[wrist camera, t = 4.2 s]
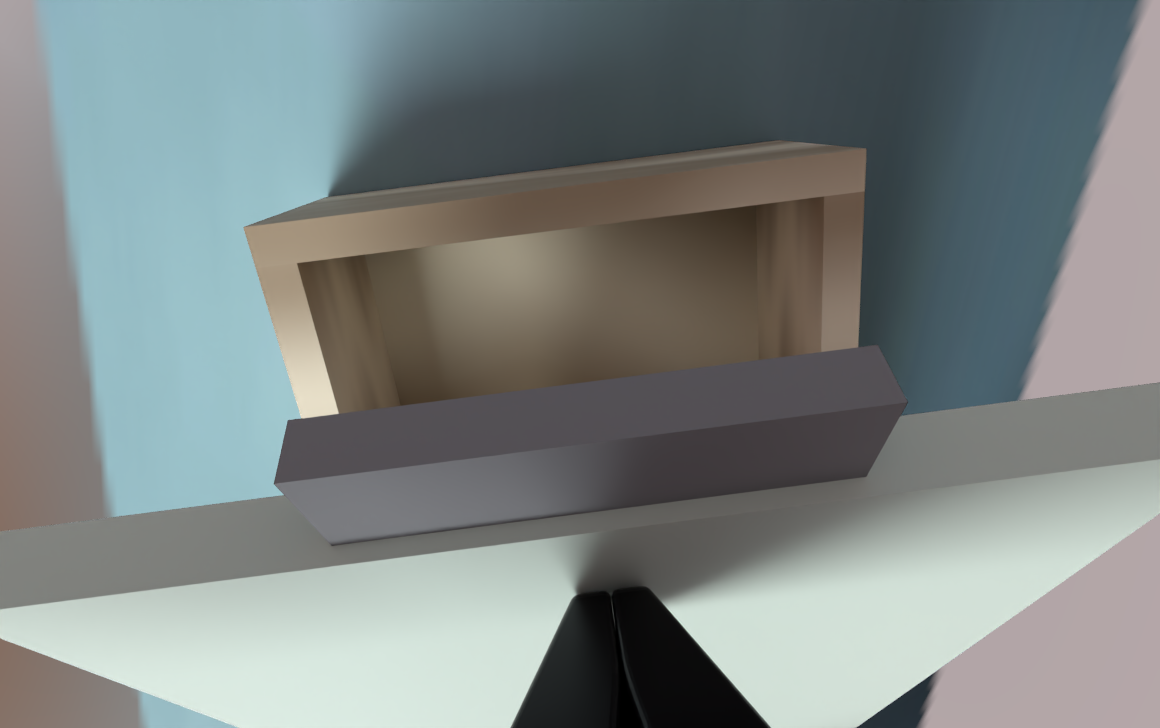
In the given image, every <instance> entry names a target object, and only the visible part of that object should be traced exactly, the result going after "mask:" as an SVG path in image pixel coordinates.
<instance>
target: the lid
mask: <svg viewBox="0 0 1160 728" xmlns="http://www.w3.org/2000/svg"><path fill="white" fill-rule="evenodd" d="M907 403H908V402H907V400H906V398H905V396H904V394H903V392H902V390H901V388H900V386H899V384H898V382H897V381H896V379H895V377H894V375H893V373H892V371H891V369H890V367H889V365H888V363H887V361H886V359H885V358H884V356H883V354H882V352H881V350H880V348H879V346H878V345H872V346H864V347H857V348H849V349H841V350H833V351H825V352H818V353H810V354H802V355H794V356H786V357H779V358H771V359H763V360H755V361H747V362H739V363H732V364H724V365H716V366H708V367H700V368H693V369H685V370H677V371H669V372H661V373H654V374H646V375H638V376H630V377H622V378H615V379H607V380H599V381H591V382H583V383H575V384H568V385H560V386H552V387H544V388H536V389H529V390H521V391H513V392H505V393H497V394H490V395H482V396H474V397H466V398H458V399H450V400H443V401H435V402H427V403H419V404H411V405H404V406H396V407H388V408H380V409H372V410H365V411H357V412H349V413H341V414H333V415H325V416H318V417H310V418H302V419H294V420H288V422H287V427H286V431H285V436H284V440H283V445H282V449H281V454H280V458H279V463H278V468H277V472H276V477H275V481H274V485H275V486H276V487H277V488H278V489H279V490H280V491H281V492H282V493H283V494H284V495H282V496H274V497H266V498H259V499H251V500H243V501H235V502H228V503H220V504H212V505H204V506H197V507H189V508H181V509H173V510H165V511H158V512H150V513H142V514H134V515H127V516H119V517H111V518H103V519H96V520H88V521H81V522H73V523H64V524H57V525H49V526H41V527H34V528H26V529H19V530H10V531H3V532H0V638H1V639H4V640H6V641H9V642H12V643H14V644H17V645H20V646H23V647H25V648H28V649H30V650H33V651H36V652H38V653H41V654H44V655H46V656H49V657H52V658H54V659H57V660H60V661H62V662H65V663H68V664H70V665H73V666H76V667H78V668H81V669H84V670H86V671H89V672H92V673H95V674H97V675H100V676H102V677H105V678H108V679H110V680H113V681H116V682H118V683H121V684H124V685H126V686H129V687H132V688H134V689H137V690H140V691H142V692H145V693H148V694H150V695H153V696H156V697H158V698H161V699H164V700H166V701H169V702H172V703H174V704H177V705H180V706H182V707H185V708H188V709H190V710H193V711H196V712H198V713H201V714H204V715H206V716H209V717H212V718H214V719H217V720H220V721H222V722H225V723H228V724H230V725H233V726H236V727H238V728H510V727H511V725H512V723H513V721H514V719H515V717H516V715H517V713H518V711H519V708H520V706H521V704H522V702H523V700H524V698H525V696H526V694H527V692H528V689H529V687H530V685H531V683H532V681H533V679H534V677H535V675H536V673H537V670H538V668H539V666H540V664H541V662H542V660H543V658H544V656H545V654H546V652H547V649H548V647H549V645H550V643H551V641H552V639H553V637H554V635H555V633H556V630H557V628H558V626H559V624H560V622H561V620H562V618H563V616H564V614H565V611H566V609H567V607H568V605H569V603H570V601H571V599H572V598H573V597H574V596H575V595H578V594H584V593H592V592H600V591H606V592H608V593H609V594H610V596H611V595H612V593H613V591H614V590H616V589H623V588H630V587H638V586H646V587H648V588H649V589H650V590H651V591H652V592H653V593H654V594H655V595H656V596H657V597H658V598H659V600H660V601H661V602H662V603H663V604H664V605H665V606H666V608H667V609H668V610H669V611H670V612H671V613H672V614H673V616H674V617H675V618H676V619H677V620H678V621H679V622H680V624H681V625H682V626H683V627H684V628H685V629H686V631H687V632H688V633H689V634H690V635H691V636H692V637H693V639H694V640H695V641H696V642H697V643H698V644H699V645H700V647H701V648H702V649H703V650H704V651H705V652H706V653H707V655H708V656H709V657H710V658H711V659H712V660H713V661H714V663H715V664H716V665H717V666H718V667H719V668H720V669H721V671H722V672H723V673H724V674H725V675H726V676H727V677H728V679H729V680H730V681H731V682H732V683H733V684H734V685H735V687H736V688H737V689H738V690H739V691H740V692H741V693H742V695H743V696H744V697H745V698H746V699H747V700H748V702H749V703H750V704H751V705H752V706H753V707H754V708H755V710H756V711H757V712H758V713H759V714H760V715H761V716H762V718H763V719H764V720H765V721H766V722H767V723H768V724H769V726H770V727H771V728H856V727H858V726H859V725H861V724H862V723H863V722H865V721H866V720H868V719H869V718H871V717H872V716H873V715H875V714H876V713H878V712H879V711H880V710H882V709H883V708H885V707H886V706H888V705H889V704H890V703H892V702H893V701H895V700H896V699H897V698H899V697H900V696H902V695H903V694H905V693H906V692H907V691H909V690H910V689H912V688H913V687H914V686H916V685H917V684H919V683H920V682H922V681H923V680H924V679H926V678H927V677H929V676H930V675H931V674H933V673H934V672H936V671H937V670H939V669H940V668H941V667H943V666H944V665H946V664H947V663H948V662H950V661H951V660H953V659H954V658H956V657H957V656H958V655H960V654H961V653H963V652H964V651H965V650H967V649H968V648H970V647H971V646H973V645H974V644H975V643H977V642H978V641H980V640H981V639H982V638H984V637H985V636H987V635H988V634H990V633H991V632H992V631H994V630H995V629H997V628H998V627H1000V626H1001V625H1002V624H1003V623H1005V622H1007V621H1008V620H1009V619H1011V618H1012V617H1014V616H1015V615H1016V614H1018V613H1019V612H1021V611H1022V610H1024V609H1025V608H1026V607H1028V606H1029V605H1031V604H1032V603H1034V602H1035V601H1036V600H1038V599H1039V598H1041V597H1042V596H1043V595H1045V594H1046V593H1048V592H1049V591H1050V590H1052V589H1053V588H1055V587H1056V586H1058V585H1059V584H1060V583H1062V582H1063V581H1065V580H1066V579H1067V578H1069V577H1070V576H1072V575H1073V574H1075V573H1076V572H1077V571H1079V570H1080V569H1082V568H1083V567H1085V566H1086V565H1087V564H1089V563H1090V562H1092V561H1093V560H1094V559H1096V558H1097V557H1099V556H1100V555H1102V554H1103V553H1104V552H1106V551H1107V550H1109V549H1110V548H1111V547H1113V546H1114V545H1116V544H1117V543H1119V542H1120V541H1121V540H1123V539H1124V538H1126V537H1127V536H1128V535H1130V534H1131V533H1133V532H1134V531H1136V530H1137V529H1138V528H1139V527H1141V526H1143V525H1144V524H1145V523H1147V522H1148V521H1149V520H1151V519H1153V518H1154V517H1155V516H1157V515H1158V514H1160V383H1152V384H1144V385H1138V386H1129V387H1121V388H1113V389H1107V390H1098V391H1090V392H1083V393H1075V394H1067V395H1059V396H1051V397H1043V398H1036V399H1028V400H1020V401H1012V402H1005V403H997V404H989V405H981V406H973V407H966V408H958V409H950V410H942V411H935V412H927V413H919V414H911V415H904V416H901V414H902V412H903V410H904V408H905V407H906V405H907ZM611 601H612V599H611ZM612 608H613V607H612ZM613 616H614V615H613Z"/></svg>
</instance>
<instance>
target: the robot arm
mask: <svg viewBox="0 0 1160 728" xmlns="http://www.w3.org/2000/svg"><path fill="white" fill-rule="evenodd" d="M611 599H612V601H611ZM612 607H613V608H612ZM613 615H614V616H613ZM510 728H771V727H770V726H769V724H768V723H767V722H766V721H765V720H764V719H763V718H762V716H761V715H760V714H759V713H758V712H757V711H756V710H755V708H754V707H753V706H752V705H751V704H750V703H749V702H748V700H747V699H746V698H745V697H744V696H743V695H742V693H741V692H740V691H739V690H738V689H737V688H736V687H735V685H734V684H733V683H732V682H731V681H730V680H729V679H728V677H727V676H726V675H725V674H724V673H723V672H722V671H721V669H720V668H719V667H718V666H717V665H716V664H715V663H714V661H713V660H712V659H711V658H710V657H709V656H708V655H707V653H706V652H705V651H704V650H703V649H702V648H701V647H700V645H699V644H698V643H697V642H696V641H695V640H694V639H693V637H692V636H691V635H690V634H689V633H688V632H687V631H686V629H685V628H684V627H683V626H682V625H681V624H680V622H679V621H678V620H677V619H676V618H675V617H674V616H673V614H672V613H671V612H670V611H669V610H668V609H667V608H666V606H665V605H664V604H663V603H662V602H661V601H660V600H659V598H658V597H657V596H656V595H655V594H654V593H653V592H652V591H651V590H650V589H649V588H648V587H646V586H638V587H630V588H623V589H616V590H614V591H613V593H612V595H611V596H610V594H609V593H608V592H606V591H600V592H592V593H584V594H578V595H575V596H574V597H573V598H572V599H571V601H570V603H569V605H568V607H567V609H566V611H565V614H564V616H563V618H562V620H561V622H560V624H559V626H558V628H557V630H556V633H555V635H554V637H553V639H552V641H551V643H550V645H549V647H548V649H547V652H546V654H545V656H544V658H543V660H542V662H541V664H540V666H539V668H538V670H537V673H536V675H535V677H534V679H533V681H532V683H531V685H530V687H529V689H528V692H527V694H526V696H525V698H524V700H523V702H522V704H521V706H520V708H519V711H518V713H517V715H516V717H515V719H514V721H513V723H512V725H511V727H510Z"/></svg>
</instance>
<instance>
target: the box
mask: <svg viewBox="0 0 1160 728" xmlns="http://www.w3.org/2000/svg"><path fill="white" fill-rule="evenodd" d="M866 150H867V149H866V148H855V147H845V146H834V145H824V144H813V143H803V142H792V141H782V140H776V141H768V142H760V143H752V144H744V145H736V146H728V147H720V148H712V149H704V150H696V151H688V152H680V153H672V154H665V155H657V156H649V157H641V158H633V159H625V160H617V161H609V162H601V163H593V164H585V165H577V166H569V167H561V168H553V169H545V170H538V171H530V172H522V173H514V174H506V175H498V176H490V177H482V178H474V179H466V180H458V181H450V182H442V183H434V184H426V185H418V186H411V187H403V188H395V189H387V190H379V191H371V192H363V193H355V194H347V195H339V196H331V197H325V198H323V199H320V200H317V201H314V202H312V203H309V204H306V205H303V206H301V207H298V208H295V209H292V210H290V211H287V212H284V213H281V214H278V215H276V216H273V217H270V218H267V219H265V220H262V221H259V222H256V223H254V224H251V225H248V226H245V227H244V231H245V234H246V237H247V241H248V244H249V247H250V250H251V254H252V257H253V260H254V264H255V267H256V270H257V274H258V277H259V280H260V283H261V287H262V290H263V293H264V297H265V300H266V303H267V306H268V310H269V313H270V316H271V320H272V323H273V326H274V329H275V333H276V336H277V339H278V343H279V346H280V349H281V352H282V356H283V359H284V362H285V366H286V369H287V372H288V375H289V379H290V382H291V385H292V389H293V392H294V395H295V398H296V402H297V405H298V408H299V412H300V415H301V418H310V417H318V416H325V415H333V414H341V413H349V412H357V411H365V410H372V409H380V408H388V407H396V406H404V405H411V404H419V403H427V402H435V401H443V400H450V399H458V398H466V397H474V396H482V395H490V394H497V393H505V392H513V391H521V390H529V389H536V388H544V387H552V386H560V385H568V384H575V383H583V382H591V381H599V380H607V379H615V378H622V377H630V376H638V375H646V374H654V373H661V372H669V371H677V370H685V369H693V368H700V367H708V366H716V365H724V364H732V363H739V362H747V361H755V360H763V359H771V358H779V357H786V356H794V355H802V354H810V353H818V352H825V351H833V350H841V349H849V348H857V347H858V338H859V315H860V291H861V268H862V244H863V221H864V197H865V174H866Z"/></svg>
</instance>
